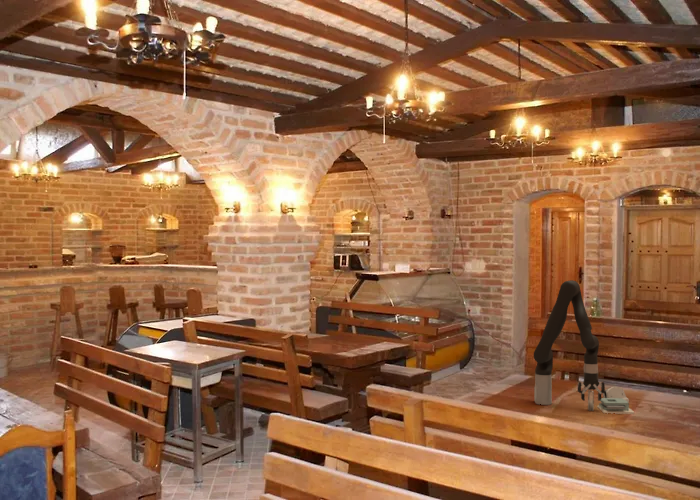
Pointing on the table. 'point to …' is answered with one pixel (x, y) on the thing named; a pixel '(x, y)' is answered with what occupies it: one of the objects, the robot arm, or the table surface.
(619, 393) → the white black beveled block
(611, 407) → the square frame block
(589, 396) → the pin
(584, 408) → the table surface
